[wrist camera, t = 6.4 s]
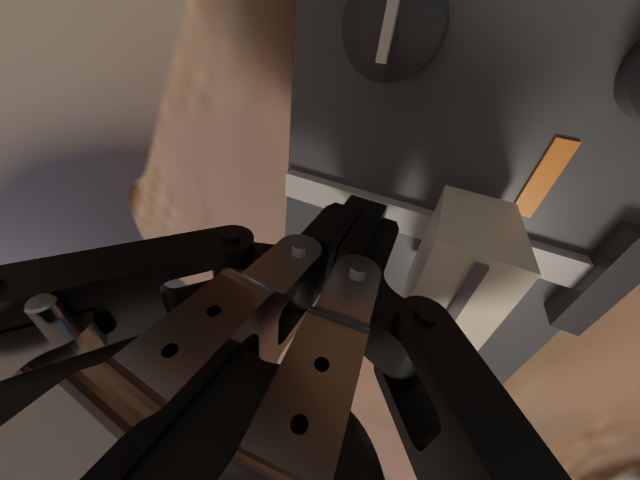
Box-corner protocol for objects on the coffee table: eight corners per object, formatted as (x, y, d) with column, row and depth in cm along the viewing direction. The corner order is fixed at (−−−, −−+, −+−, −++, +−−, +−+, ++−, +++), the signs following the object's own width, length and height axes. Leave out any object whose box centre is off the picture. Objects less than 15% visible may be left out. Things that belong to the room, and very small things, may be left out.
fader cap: (444, 184, 10) (435, 244, 7) (517, 203, 9) (542, 279, 6) (408, 271, 13) (389, 343, 10) (462, 290, 12) (461, 374, 9)
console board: (324, -66, 10) (259, -120, 7) (870, -46, 6) (1270, -145, 3) (295, 279, 21) (265, 320, 18) (493, 360, 17) (499, 430, 14)
